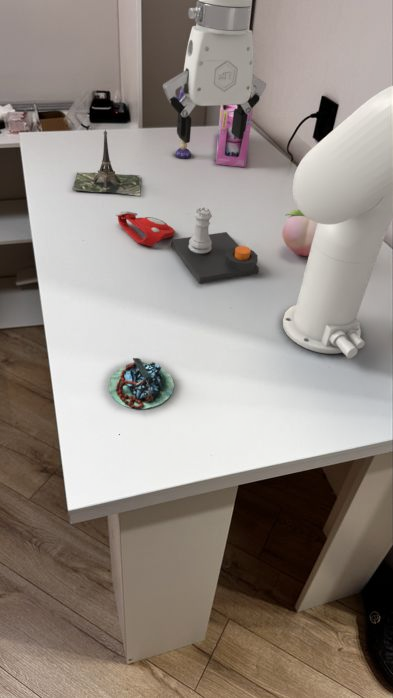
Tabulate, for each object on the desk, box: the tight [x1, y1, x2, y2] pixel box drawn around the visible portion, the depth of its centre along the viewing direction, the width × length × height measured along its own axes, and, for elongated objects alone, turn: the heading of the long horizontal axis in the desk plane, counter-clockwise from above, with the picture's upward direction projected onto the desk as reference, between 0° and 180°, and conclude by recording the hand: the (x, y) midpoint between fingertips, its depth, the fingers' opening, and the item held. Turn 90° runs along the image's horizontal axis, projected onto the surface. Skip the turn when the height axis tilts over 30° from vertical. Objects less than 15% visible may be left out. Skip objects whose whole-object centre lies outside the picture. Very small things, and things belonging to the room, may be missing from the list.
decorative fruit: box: [281, 209, 318, 257], centre depth 102 cm, size 9×8×10 cm
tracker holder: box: [115, 210, 175, 247], centre depth 105 cm, size 12×4×10 cm
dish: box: [108, 357, 175, 410], centre depth 74 cm, size 8×7×8 cm
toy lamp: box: [174, 86, 192, 160], centre depth 135 cm, size 5×5×17 cm
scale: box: [170, 231, 260, 285], centre depth 100 cm, size 14×12×3 cm
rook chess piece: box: [189, 206, 213, 254], centre depth 99 cm, size 4×4×8 cm
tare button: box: [235, 245, 252, 260], centre depth 97 cm, size 3×3×2 cm
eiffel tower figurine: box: [72, 129, 141, 197], centre depth 119 cm, size 15×10×13 cm
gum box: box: [215, 105, 254, 168], centre depth 141 cm, size 24×8×14 cm, turn 177°
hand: (211, 138), depth 88 cm, fingers open, 9 cm apart
